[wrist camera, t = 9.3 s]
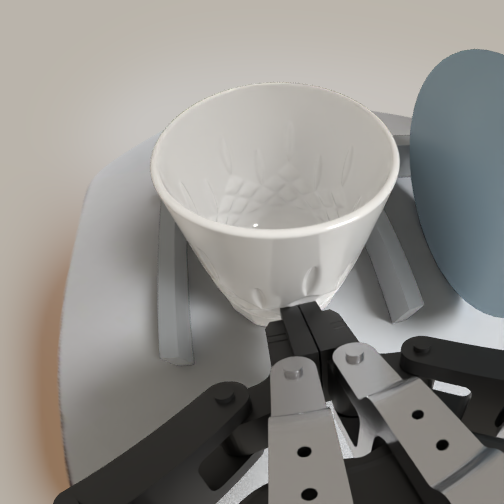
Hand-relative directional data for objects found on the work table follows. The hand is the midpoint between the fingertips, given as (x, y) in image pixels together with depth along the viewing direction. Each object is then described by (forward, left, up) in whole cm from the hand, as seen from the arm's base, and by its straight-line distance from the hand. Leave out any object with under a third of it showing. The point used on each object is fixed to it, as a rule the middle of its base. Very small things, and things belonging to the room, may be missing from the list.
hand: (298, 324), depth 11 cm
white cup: (-3, -3, -4) cm, 6 cm away
